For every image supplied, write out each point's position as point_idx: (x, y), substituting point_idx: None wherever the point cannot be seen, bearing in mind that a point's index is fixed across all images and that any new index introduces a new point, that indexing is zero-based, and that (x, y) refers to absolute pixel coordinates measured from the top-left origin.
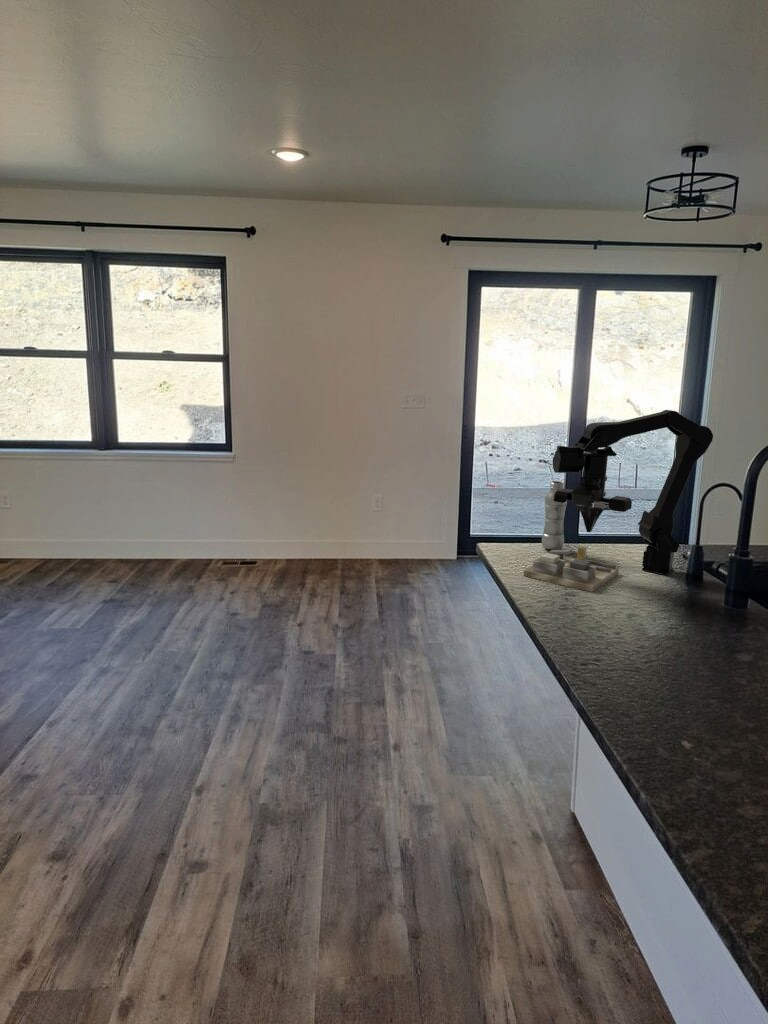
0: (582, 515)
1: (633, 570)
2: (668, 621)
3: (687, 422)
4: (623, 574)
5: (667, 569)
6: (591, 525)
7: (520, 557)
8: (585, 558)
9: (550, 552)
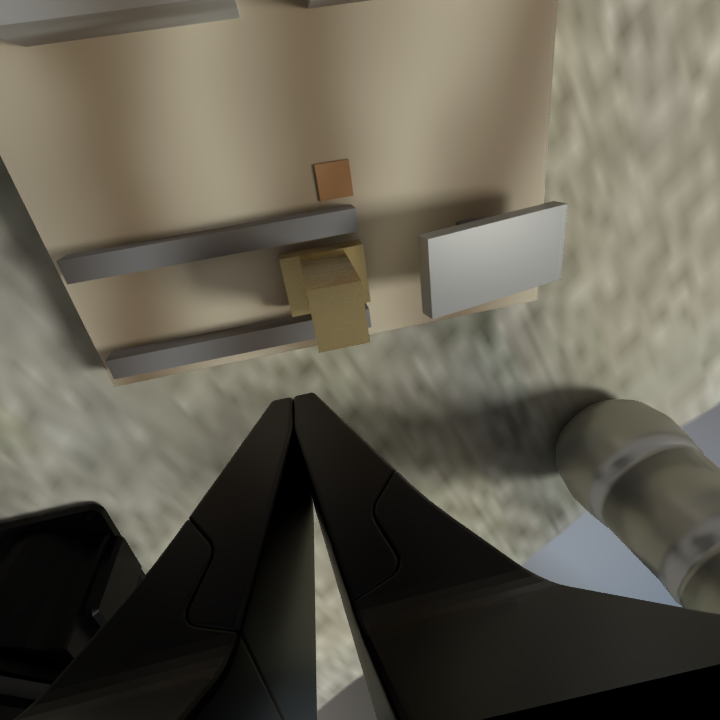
0: (445, 525)
1: (128, 474)
2: None
3: None
4: (102, 383)
5: None
6: (237, 459)
7: (698, 173)
8: (310, 313)
9: (550, 207)
